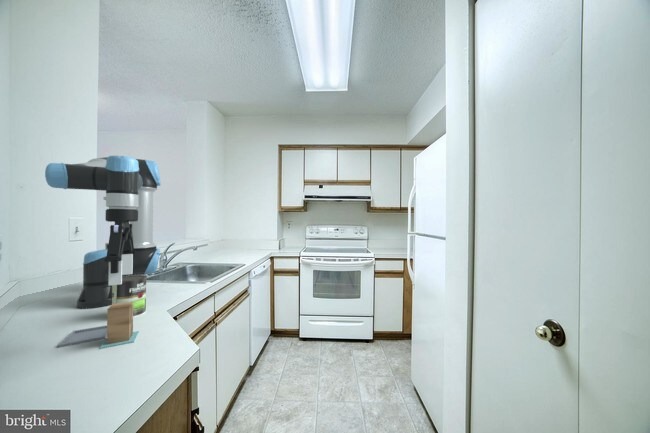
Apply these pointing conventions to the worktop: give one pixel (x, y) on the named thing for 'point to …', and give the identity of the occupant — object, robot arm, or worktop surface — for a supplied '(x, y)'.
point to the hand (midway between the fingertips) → (121, 279)
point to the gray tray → (84, 336)
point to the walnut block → (119, 322)
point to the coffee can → (131, 293)
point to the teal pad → (120, 342)
